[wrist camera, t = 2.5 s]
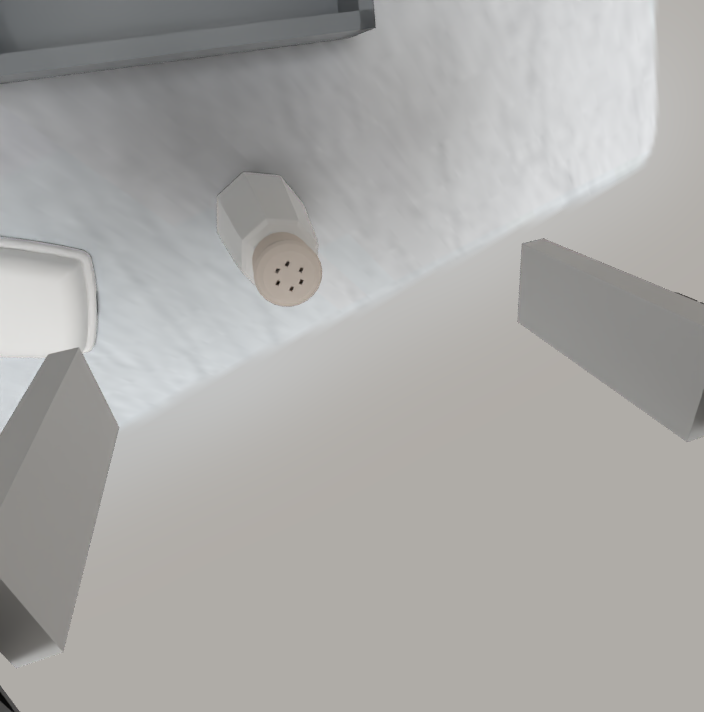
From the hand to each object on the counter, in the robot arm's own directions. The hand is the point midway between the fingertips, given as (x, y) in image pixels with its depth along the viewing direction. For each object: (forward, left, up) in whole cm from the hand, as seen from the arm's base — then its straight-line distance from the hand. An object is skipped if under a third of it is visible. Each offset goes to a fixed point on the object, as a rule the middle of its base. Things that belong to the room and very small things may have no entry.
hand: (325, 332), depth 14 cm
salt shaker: (0, 0, -17) cm, 17 cm away
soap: (-15, -2, -17) cm, 23 cm away
